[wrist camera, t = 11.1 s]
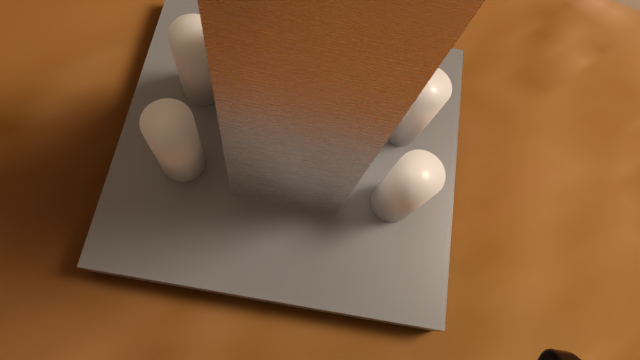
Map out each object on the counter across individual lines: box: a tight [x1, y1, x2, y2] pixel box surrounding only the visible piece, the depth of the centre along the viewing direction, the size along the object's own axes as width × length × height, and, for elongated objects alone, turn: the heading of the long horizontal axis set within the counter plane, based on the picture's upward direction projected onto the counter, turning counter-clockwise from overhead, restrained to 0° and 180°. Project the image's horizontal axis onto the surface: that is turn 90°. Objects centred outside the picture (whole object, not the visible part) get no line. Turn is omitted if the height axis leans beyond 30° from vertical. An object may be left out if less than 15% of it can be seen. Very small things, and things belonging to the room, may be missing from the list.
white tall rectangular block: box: [197, 0, 485, 214], centre depth 12 cm, size 5×4×12 cm
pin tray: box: [77, 0, 463, 331], centre depth 17 cm, size 12×13×5 cm
